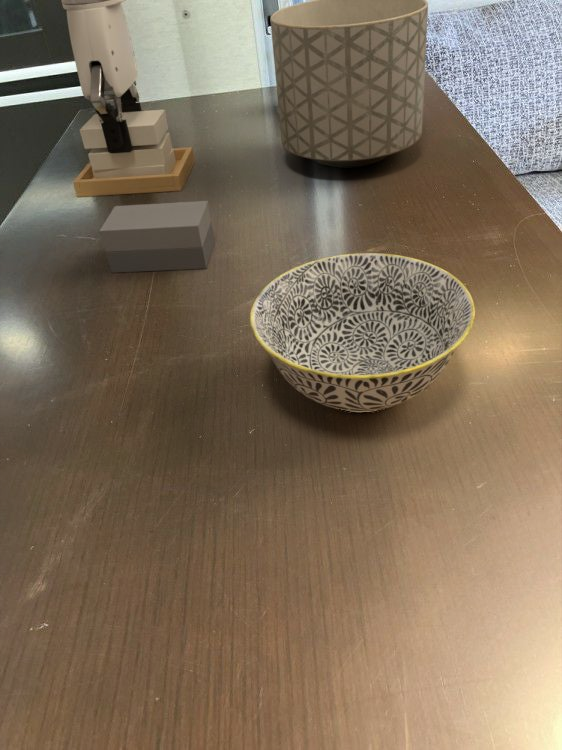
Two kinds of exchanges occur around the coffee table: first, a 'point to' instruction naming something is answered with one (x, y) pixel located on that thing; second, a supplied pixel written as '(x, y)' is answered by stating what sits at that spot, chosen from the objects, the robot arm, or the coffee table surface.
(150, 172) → the taupe rectangular block
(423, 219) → the coffee table surface
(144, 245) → the grey rectangular block
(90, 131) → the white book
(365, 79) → the planter
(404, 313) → the bowl
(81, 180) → the shallow wooden box
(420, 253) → the coffee table surface
